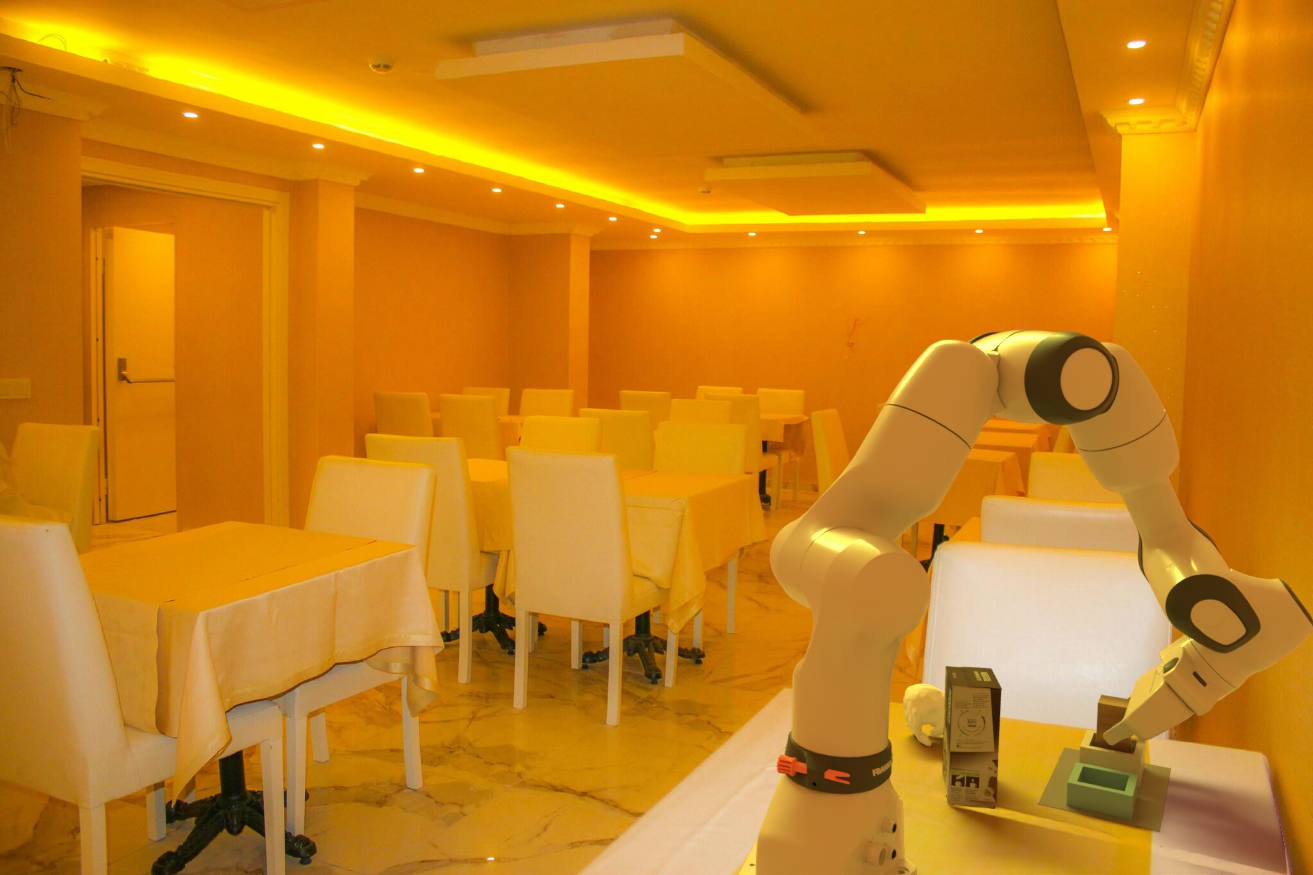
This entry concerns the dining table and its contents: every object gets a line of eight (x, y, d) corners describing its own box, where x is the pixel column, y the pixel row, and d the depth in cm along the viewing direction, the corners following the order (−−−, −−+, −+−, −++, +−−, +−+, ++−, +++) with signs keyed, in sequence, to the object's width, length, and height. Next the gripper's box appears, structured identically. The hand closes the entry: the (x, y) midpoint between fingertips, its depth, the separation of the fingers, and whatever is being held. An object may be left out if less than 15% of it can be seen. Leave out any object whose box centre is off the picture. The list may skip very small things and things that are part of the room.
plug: (1126, 779, 134) (1129, 708, 133) (1094, 772, 136) (1097, 702, 136) (1129, 769, 138) (1132, 699, 137) (1098, 762, 140) (1101, 694, 139)
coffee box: (998, 809, 127) (1003, 688, 126) (946, 804, 128) (950, 684, 127) (988, 780, 136) (993, 666, 135) (940, 776, 137) (944, 663, 136)
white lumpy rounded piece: (901, 677, 153) (976, 683, 153) (894, 730, 153) (969, 736, 154) (914, 690, 147) (992, 697, 147) (907, 745, 147) (984, 752, 148)
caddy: (1158, 839, 119) (1160, 799, 119) (1037, 811, 127) (1039, 773, 126) (1170, 775, 138) (1172, 740, 138) (1064, 753, 145) (1065, 721, 145)
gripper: (1180, 635, 141) (1103, 689, 147) (1171, 672, 123) (1084, 732, 129) (1214, 670, 139) (1134, 724, 145) (1210, 714, 121) (1119, 772, 127)
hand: (1110, 728), depth 137 cm, fingers open, 8 cm apart
